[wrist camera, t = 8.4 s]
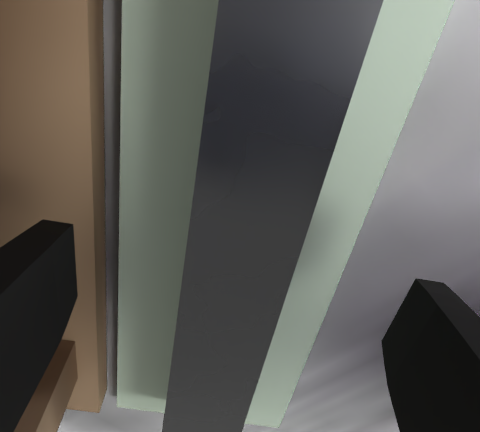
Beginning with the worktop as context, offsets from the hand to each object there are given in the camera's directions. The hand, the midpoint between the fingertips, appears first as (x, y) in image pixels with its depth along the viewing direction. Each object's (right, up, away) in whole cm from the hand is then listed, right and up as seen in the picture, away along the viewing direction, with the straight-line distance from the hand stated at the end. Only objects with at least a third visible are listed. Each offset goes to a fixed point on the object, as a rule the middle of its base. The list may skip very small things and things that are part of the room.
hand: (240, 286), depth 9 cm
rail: (0, +1, +2) cm, 3 cm away
